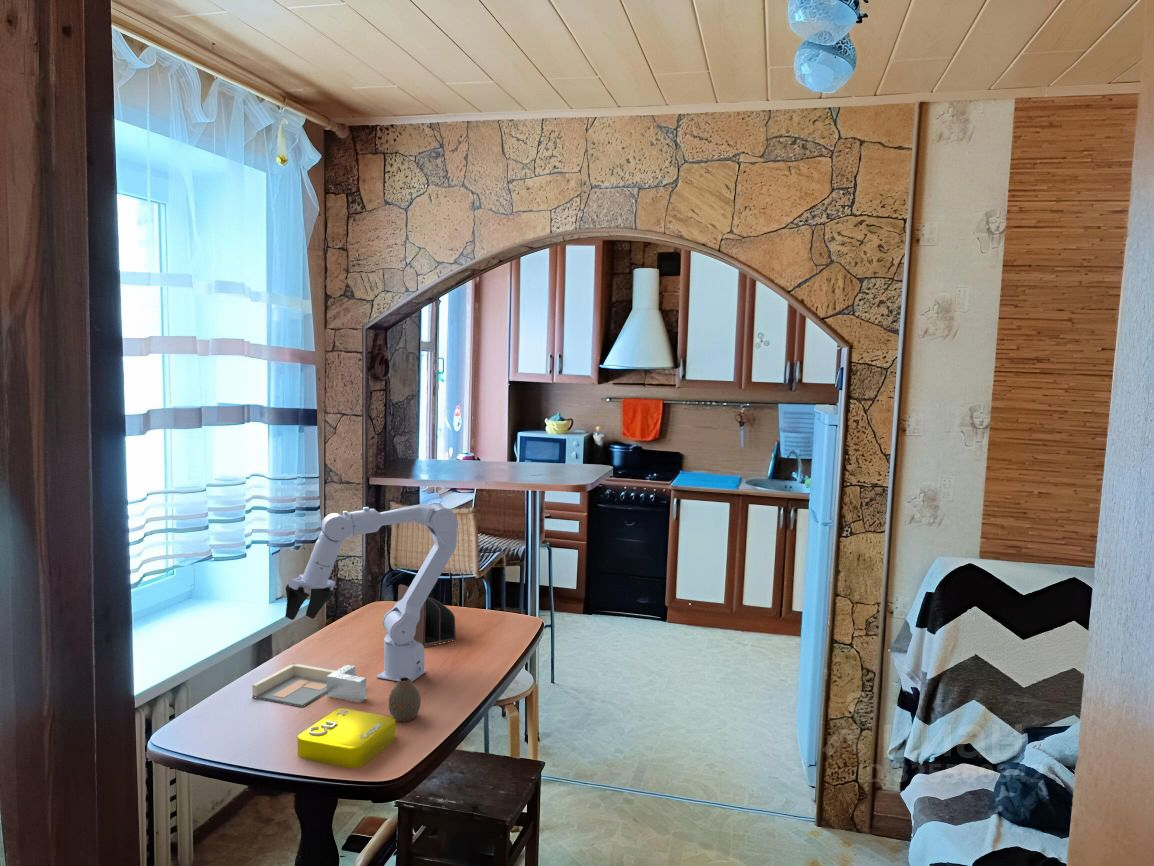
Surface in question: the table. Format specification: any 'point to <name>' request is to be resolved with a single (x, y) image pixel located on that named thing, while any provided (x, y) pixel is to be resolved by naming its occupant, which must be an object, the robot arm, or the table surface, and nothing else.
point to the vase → (404, 700)
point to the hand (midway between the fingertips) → (299, 617)
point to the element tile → (346, 738)
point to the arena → (293, 685)
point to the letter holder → (432, 621)
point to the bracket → (346, 684)
